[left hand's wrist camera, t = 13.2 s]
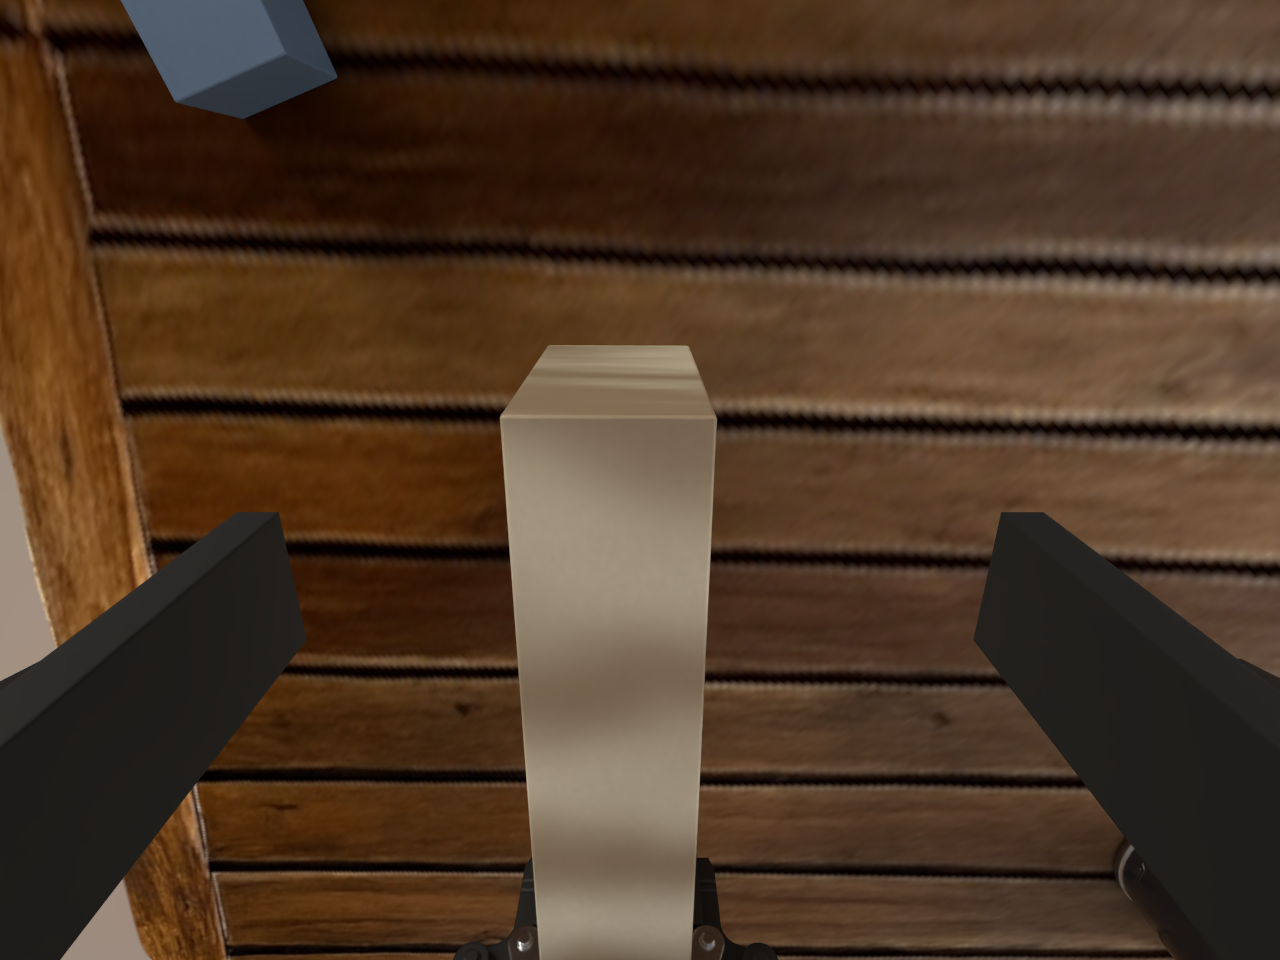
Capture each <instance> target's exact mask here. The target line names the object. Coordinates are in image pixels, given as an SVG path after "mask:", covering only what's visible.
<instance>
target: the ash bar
mask: <svg viewBox="0 0 1280 960" xmlns="http://www.w3.org/2000/svg"><path fill="white" fill-rule="evenodd" d="M500 425H501V439H502V452H503V466H504V480H505V493H506V507H507V520H508V534H509V548H510V561H511V575H512V589H513V602H514V616H515V630H516V643H517V657H518V670H519V684H520V698H521V711H522V725H523V739H524V752H525V766H526V780H527V793H528V807H529V820H530V834H531V848H532V861H533V875H534V889H535V902H536V916H537V930H538V943H539V957H540V960H691V954H692V933H693V912H694V891H695V870H696V849H697V828H698V807H699V786H700V765H701V744H702V723H703V702H704V681H705V660H706V638H707V617H708V596H709V575H710V554H711V533H712V512H713V491H714V470H715V449H716V428H717V418H716V415H715V413H714V410H713V407H712V405H711V402H710V400H709V397H708V395H707V392H706V389H705V387H704V384H703V382H702V379H701V377H700V374H699V372H698V369H697V366H696V364H695V361H694V359H693V356H692V354H691V351H690V348H689V346H608V345H549V346H548V347H547V348H546V350H545V351H544V353H543V354H542V356H541V357H540V359H539V360H538V362H537V363H536V364H535V366H534V367H533V369H532V370H531V372H530V373H529V375H528V376H527V378H526V379H525V381H524V382H523V384H522V385H521V387H520V388H519V390H518V391H517V392H516V394H515V395H514V397H513V398H512V400H511V401H510V403H509V404H508V406H507V407H506V409H505V410H504V412H503V413H502V415H501V417H500Z"/></svg>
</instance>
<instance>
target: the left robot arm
mask: <svg viewBox="0 0 1280 960" xmlns="http://www.w3.org/2000/svg"><path fill="white" fill-rule="evenodd" d="M305 641H306V635H305V631H304V626H303V621H302V617H301V612H300V608H299V603H298V598H297V594H296V589H295V585H294V580H293V576H292V571H291V566H290V562H289V557H288V553H287V548H286V544H285V539H284V534H283V530H282V525H281V521H280V516H279V512H236V513H235V514H234V515H232V516H231V517H230V518H228V519H227V520H226V521H224V522H223V523H222V524H220V525H219V526H218V527H216V528H215V529H214V530H213V531H211V532H210V533H209V534H207V535H206V536H205V537H203V538H202V539H201V540H199V541H198V542H197V543H195V544H194V545H193V546H191V547H190V548H189V549H187V550H186V551H185V552H183V553H182V554H181V555H180V556H178V557H177V558H176V559H174V560H173V561H172V562H170V563H169V564H168V565H166V566H165V567H164V568H162V569H161V570H160V571H158V572H157V573H156V574H154V575H153V576H152V577H150V578H149V579H148V580H146V581H145V582H144V583H143V584H141V585H140V586H139V587H137V588H136V589H135V590H133V591H132V592H131V593H129V594H128V595H127V596H125V597H124V598H123V599H121V600H120V601H119V602H117V603H116V604H115V605H113V606H112V607H111V608H110V609H108V610H107V611H106V612H104V613H103V614H102V615H100V616H99V617H98V618H96V619H95V620H94V621H92V622H91V623H90V624H88V625H87V626H86V627H84V628H83V629H82V630H80V631H79V632H78V633H76V634H75V635H74V636H73V637H71V638H70V639H69V640H67V641H66V642H65V643H63V644H62V645H61V646H59V647H58V648H57V649H55V650H54V651H53V652H51V653H50V654H49V655H47V656H46V657H45V658H44V659H42V660H41V661H39V662H37V663H35V664H33V665H31V666H29V667H28V668H26V669H24V670H22V671H20V672H18V673H16V674H14V675H12V676H10V677H8V678H6V679H4V680H2V681H0V960H60V959H61V958H62V957H63V955H64V954H65V953H66V951H67V950H68V949H69V948H70V946H71V945H72V944H73V942H74V941H75V940H76V938H77V937H78V936H79V935H80V933H81V932H82V931H83V929H84V928H85V927H86V925H87V924H88V923H89V922H90V920H91V919H92V918H93V916H94V915H95V914H96V913H97V911H98V910H99V909H100V907H101V906H102V905H103V903H104V902H105V901H106V900H107V898H108V897H109V896H110V894H111V893H112V892H113V890H114V889H115V888H116V887H117V885H118V884H119V883H120V881H121V880H122V879H123V877H124V876H125V875H126V874H127V872H128V871H129V870H130V868H131V867H132V866H133V864H134V863H135V862H136V861H137V859H138V858H139V857H140V855H141V854H142V853H143V851H144V850H145V849H146V848H147V846H148V845H149V844H150V842H151V841H152V840H153V839H154V837H155V836H156V835H157V833H158V832H159V831H160V829H161V828H162V827H163V826H164V824H165V823H166V822H167V820H168V819H169V818H170V816H171V815H172V814H173V813H174V811H175V810H176V809H177V807H178V806H179V805H180V803H181V802H182V801H183V800H184V798H185V797H186V796H187V794H188V793H189V792H190V790H191V789H192V788H193V787H194V785H195V784H196V783H197V781H198V780H199V779H200V777H201V776H202V775H203V774H204V772H205V771H206V770H207V768H208V767H209V766H210V765H211V763H212V762H213V761H214V759H215V758H216V757H217V755H218V754H219V753H220V752H221V750H222V749H223V748H224V746H225V745H226V744H227V742H228V741H229V740H230V739H231V737H232V736H233V735H234V733H235V732H236V731H237V729H238V728H239V727H240V726H241V724H242V723H243V722H244V720H245V719H246V718H247V716H248V715H249V714H250V713H251V711H252V710H253V709H254V707H255V706H256V705H257V703H258V702H259V701H260V700H261V698H262V697H263V696H264V694H265V693H266V692H267V691H268V689H269V688H270V687H271V685H272V684H273V683H274V681H275V680H276V679H277V678H278V676H279V675H280V674H281V672H282V671H283V670H284V668H285V667H286V666H287V665H288V663H289V662H290V661H291V659H292V658H293V657H294V655H295V654H296V653H297V652H298V650H299V649H300V648H301V646H302V645H303V644H304V642H305ZM974 641H975V642H976V644H977V645H978V646H979V648H980V649H981V650H982V652H983V653H984V654H985V655H986V657H987V658H988V659H989V661H990V662H991V663H992V665H993V666H994V667H995V668H996V670H997V671H998V672H999V674H1000V675H1001V676H1002V678H1003V679H1004V680H1005V681H1006V683H1007V684H1008V685H1009V687H1010V688H1011V689H1012V691H1013V692H1014V693H1015V694H1016V696H1017V697H1018V698H1019V700H1020V701H1021V702H1022V703H1023V705H1024V706H1025V707H1026V709H1027V710H1028V711H1029V713H1030V714H1031V715H1032V716H1033V718H1034V719H1035V720H1036V722H1037V723H1038V724H1039V726H1040V727H1041V728H1042V729H1043V731H1044V732H1045V733H1046V735H1047V736H1048V737H1049V739H1050V740H1051V741H1052V742H1053V744H1054V745H1055V746H1056V748H1057V749H1058V750H1059V752H1060V753H1061V754H1062V755H1063V757H1064V758H1065V759H1066V761H1067V762H1068V763H1069V765H1070V766H1071V767H1072V768H1073V770H1074V771H1075V772H1076V774H1077V775H1078V776H1079V777H1080V779H1081V780H1082V781H1083V783H1084V784H1085V785H1086V787H1087V788H1088V789H1089V790H1090V792H1091V793H1092V794H1093V796H1094V797H1095V798H1096V800H1097V801H1098V802H1099V803H1100V805H1101V806H1102V807H1103V809H1104V810H1105V811H1106V813H1107V814H1108V815H1109V816H1110V818H1111V819H1112V820H1113V822H1114V823H1115V824H1116V826H1117V827H1118V828H1119V829H1120V831H1121V832H1122V833H1123V835H1124V836H1125V837H1126V839H1127V840H1128V841H1129V842H1130V844H1131V845H1132V846H1133V848H1134V849H1135V850H1136V851H1137V853H1138V854H1139V855H1140V857H1141V858H1142V859H1143V861H1144V862H1145V863H1146V864H1147V866H1148V867H1149V868H1150V870H1151V871H1152V872H1153V874H1154V875H1155V876H1156V877H1157V879H1158V880H1159V881H1160V883H1161V884H1162V885H1163V887H1164V888H1165V889H1166V890H1167V892H1168V893H1169V894H1170V896H1171V897H1172V898H1173V900H1174V901H1175V902H1176V903H1177V905H1178V906H1179V907H1180V909H1181V910H1182V911H1183V913H1184V914H1185V915H1186V916H1187V918H1188V919H1189V920H1190V922H1191V923H1192V924H1193V925H1194V927H1195V928H1196V929H1197V931H1198V932H1199V933H1200V935H1201V936H1202V937H1203V938H1204V940H1205V941H1206V942H1207V944H1208V945H1209V946H1210V948H1211V949H1212V950H1213V951H1214V953H1215V954H1216V955H1217V957H1218V958H1219V959H1220V960H1280V678H1278V677H1276V676H1274V675H1272V674H1270V673H1268V672H1266V671H1264V670H1262V669H1260V668H1258V667H1256V666H1254V665H1252V664H1251V663H1249V662H1247V661H1245V660H1243V659H1237V658H1235V657H1234V656H1233V655H1231V654H1230V653H1229V652H1227V651H1226V650H1225V649H1223V648H1222V647H1221V646H1219V645H1218V644H1217V643H1215V642H1214V641H1213V640H1211V639H1210V638H1209V637H1207V636H1206V635H1205V634H1204V633H1202V632H1201V631H1200V630H1198V629H1197V628H1196V627H1194V626H1193V625H1192V624H1190V623H1189V622H1188V621H1186V620H1185V619H1184V618H1182V617H1181V616H1180V615H1178V614H1177V613H1176V612H1174V611H1173V610H1172V609H1170V608H1169V607H1168V606H1167V605H1165V604H1164V603H1163V602H1161V601H1160V600H1159V599H1157V598H1156V597H1155V596H1153V595H1152V594H1151V593H1149V592H1148V591H1147V590H1145V589H1144V588H1143V587H1141V586H1140V585H1139V584H1137V583H1136V582H1135V581H1134V580H1132V579H1131V578H1130V577H1128V576H1127V575H1126V574H1124V573H1123V572H1122V571H1120V570H1119V569H1118V568H1116V567H1115V566H1114V565H1112V564H1111V563H1110V562H1108V561H1107V560H1106V559H1104V558H1103V557H1102V556H1100V555H1099V554H1098V553H1097V552H1095V551H1094V550H1093V549H1091V548H1090V547H1089V546H1087V545H1086V544H1085V543H1083V542H1082V541H1081V540H1079V539H1078V538H1077V537H1075V536H1074V535H1073V534H1071V533H1070V532H1069V531H1067V530H1066V529H1065V528H1064V527H1062V526H1061V525H1060V524H1058V523H1057V522H1056V521H1054V520H1053V519H1052V518H1050V517H1049V516H1048V515H1046V514H1045V513H1044V512H1001V516H1000V521H999V525H998V530H997V534H996V539H995V544H994V548H993V553H992V557H991V562H990V566H989V571H988V576H987V580H986V585H985V589H984V594H983V598H982V603H981V608H980V612H979V617H978V621H977V626H976V631H975V635H974Z"/></svg>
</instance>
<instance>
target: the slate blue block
mask: <svg viewBox="0 0 1280 960" xmlns="http://www.w3.org/2000/svg"><path fill="white" fill-rule="evenodd" d="M121 1H122V3H123V5H124V7H125V9H126V11H127V13H128V15H129V16H130V18H131V20H132V22H133V24H134V26H135V28H136V29H137V31H138V33H139V35H140V37H141V39H142V41H143V42H144V44H145V46H146V48H147V50H148V52H149V54H150V56H151V57H152V59H153V61H154V63H155V65H156V67H157V69H158V70H159V72H160V74H161V76H162V78H163V80H164V82H165V83H166V85H167V87H168V89H169V91H170V93H171V95H172V97H173V98H174V100H175V102H177V103H180V104H185V105H189V106H193V107H197V108H201V109H205V110H209V111H213V112H217V113H221V114H225V115H229V116H233V117H237V118H242V119H244V118H246V117H249V116H251V115H253V114H256V113H258V112H260V111H263V110H265V109H267V108H270V107H272V106H274V105H276V104H279V103H281V102H283V101H286V100H288V99H290V98H293V97H295V96H297V95H300V94H302V93H304V92H306V91H309V90H311V89H313V88H316V87H318V86H320V85H323V84H325V83H327V82H330V81H332V80H334V79H336V78H337V74H336V72H335V70H334V68H333V66H332V63H331V61H330V59H329V57H328V55H327V52H326V50H325V48H324V46H323V44H322V41H321V39H320V37H319V35H318V33H317V30H316V28H315V26H314V24H313V21H312V19H311V17H310V15H309V13H308V10H307V8H306V6H305V4H304V2H303V0H121Z"/></svg>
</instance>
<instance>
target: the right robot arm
mask: <svg viewBox="0 0 1280 960" xmlns="http://www.w3.org/2000/svg"><path fill="white" fill-rule="evenodd" d="M1114 874H1115V878H1116V880H1117V882H1118V884H1119V886H1120V887H1121V888H1122V890H1123V891H1124V893H1125V894H1126V895H1127V896H1128V898H1129V899H1131V900H1132V901H1133V902H1134V904H1135V905H1136V907H1137V908H1138V909H1139V911H1140V912H1141V913H1142V915H1143V916H1144V918H1145V919H1146V920H1147V922H1148V923H1149V925H1150V926H1151V927H1152V929H1153V930H1154V931H1155V933H1156V934H1157V936H1158V937H1159V939H1160V940H1161V942H1162V943H1163V944H1164V946H1165V947H1166V948H1167V950H1168V951H1169V953H1170V954H1171V955H1172V957H1173V958H1174V959H1175V960H1220V959H1219V958H1218V957H1217V955H1216V954H1215V953H1214V951H1213V950H1212V949H1211V948H1210V946H1209V945H1208V944H1207V942H1206V941H1205V940H1204V938H1203V937H1202V936H1201V935H1200V933H1199V932H1198V931H1197V929H1196V928H1195V927H1194V925H1193V924H1192V923H1191V922H1190V920H1189V919H1188V918H1187V916H1186V915H1185V914H1184V913H1183V911H1182V910H1181V909H1180V907H1179V906H1178V905H1177V903H1176V902H1175V901H1174V900H1173V898H1172V897H1171V896H1170V894H1169V893H1168V892H1167V890H1166V889H1165V888H1164V887H1163V885H1162V884H1161V883H1160V881H1159V880H1158V879H1157V877H1156V876H1155V875H1154V874H1153V872H1152V871H1151V870H1150V868H1149V867H1148V866H1147V864H1146V863H1145V862H1144V861H1143V859H1142V858H1141V857H1140V855H1139V854H1138V853H1137V851H1136V850H1135V849H1134V848H1133V846H1132V845H1131V844H1130V842H1129V841H1128V840H1126V841H1125V842H1124V843H1123V845H1122V846H1121V848H1120V850H1119V851H1118V854H1117V856H1116V859H1115V863H1114ZM453 960H540V957H539V943H538V930H537V916H536V902H535V889H534V875H533V861H532V857H531V859H530V860H529V862H528V864H527V865H526V867H525V869H524V875H523V882H522V887H521V892H520V898H519V904H518V910H517V916H516V922H515V926H514V929H513V931H512V933H511V934H510V935H509V936H508V937H507V938H506V939H505V940H504V941H502V942H500V943H498V944H495V945H492V946H489V947H486V946H485V945H484V944H482V943H480V942H470V943H467V944H465V945H463V946H462V947H461V948H460V949H459V950H458V951H457V953H456V954H455V956H454V958H453ZM691 960H778V958H777V956H776V954H775V952H774V951H773V950H772V948H770V947H769V946H768V945H766V944H763V943H753V944H751V945H749V946H748V947H747V948H746V947H743V946H740V945H738V944H735V943H733V942H732V941H730V940H729V939H728V938H727V937H726V936H725V934H724V933H723V931H722V928H721V923H720V915H719V906H718V898H717V889H716V882H715V872H714V868H713V866H712V864H711V862H710V861H709V859H708V858H697V854H696V870H695V891H694V912H693V933H692V954H691Z"/></svg>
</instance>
